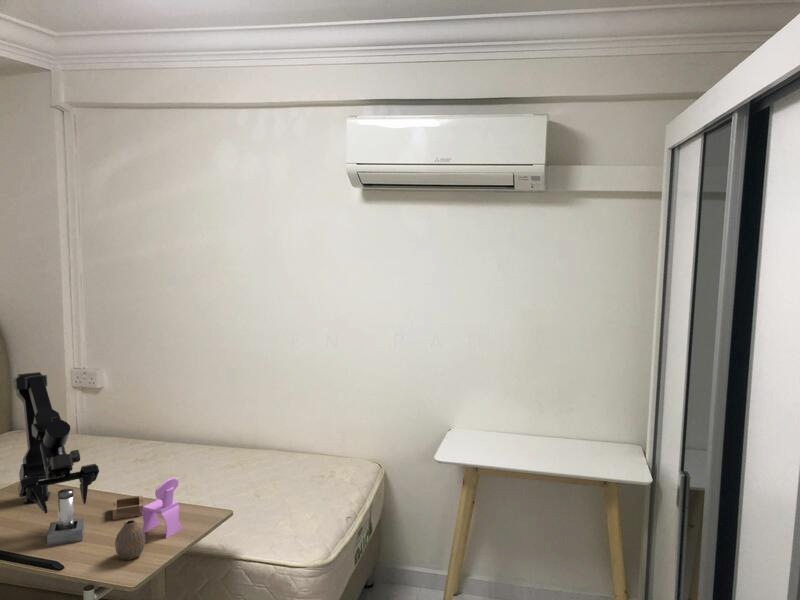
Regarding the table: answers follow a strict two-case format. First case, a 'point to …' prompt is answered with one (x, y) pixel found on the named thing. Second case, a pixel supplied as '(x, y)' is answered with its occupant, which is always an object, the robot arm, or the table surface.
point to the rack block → (127, 507)
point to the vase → (130, 541)
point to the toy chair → (163, 508)
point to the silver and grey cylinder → (65, 509)
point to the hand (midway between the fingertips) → (65, 508)
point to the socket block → (65, 533)
